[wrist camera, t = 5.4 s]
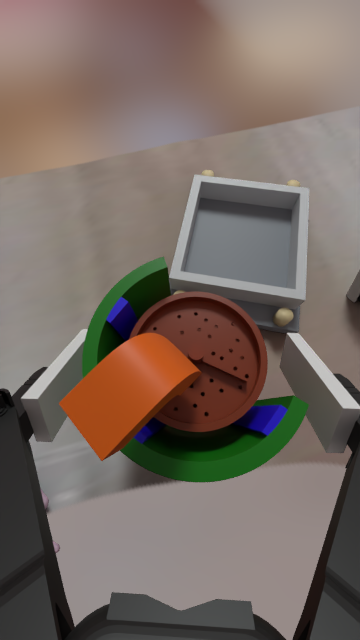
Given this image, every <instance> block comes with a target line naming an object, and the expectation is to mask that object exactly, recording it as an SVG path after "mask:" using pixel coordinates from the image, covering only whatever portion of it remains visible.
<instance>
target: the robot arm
mask: <svg viewBox="0 0 360 640" xmlns="http://www.w3.org/2000/svg"><path fill="white" fill-rule="evenodd" d="M87 331H88V329H82V330H81V331H80V333H79V334H78V335H77V336H76V337H75V338H74V339H73V340H72V341H71V343H70V344H69V345H68V346H67V347H66V348H65V349H64V350H63V352H62V353H61V354H60V355H59V356H58V357H57V358H56V359H55V361H54V362H53V363H52V364H51V365H50V366H49V367H43V368H41V369H39V370H38V371H36V372H35V373H34V374H33V375H32V376H31V377H30V378H29V380H27V381H26V382H25V383H24V385H22V386H21V387H20V388H19V389H18V390H17V392H16V393H15V394H14V395H13V396H12V397H11V394H10V392H9V391H8V390H7V389H0V640H286V639H285V638H284V637H283V636H282V635H281V634H280V633H279V632H278V631H277V630H276V629H275V628H274V627H273V626H271V625H270V624H269V623H268V622H267V621H265V620H263V619H262V618H260V617H259V616H257V615H255V614H253V612H252V605H251V602H250V601H235V600H220V599H216V600H213V601H210V602H207V603H204V604H201V605H198V606H195V607H192V608H189V609H186V610H182V611H179V610H176V609H174V608H172V607H170V606H168V605H166V604H164V603H162V602H160V601H157V600H155V599H153V598H151V597H149V596H147V595H143V594H128V593H113V592H112V594H111V599H110V604H108V605H105V606H103V607H101V608H99V609H97V610H95V611H94V612H92V613H91V614H89V615H88V616H87V617H85V618H84V619H83V620H82V621H81V622H80V623H79V624H78V625H77V626H76V627H74V623H73V619H72V616H71V612H70V609H69V606H68V603H67V599H66V596H65V592H64V588H63V583H62V580H61V575H60V571H59V567H58V562H57V558H56V553H55V549H54V545H53V540H52V536H51V532H50V527H49V523H48V519H47V514H46V510H45V506H44V502H43V497H42V493H41V489H40V484H39V480H38V476H37V471H36V467H35V463H34V458H33V454H32V450H31V446H30V443H29V439H30V437H31V436H32V434H33V433H34V435H35V438H36V441H41V442H52V441H53V439H54V438H55V436H56V434H57V433H58V431H59V429H60V427H61V426H62V424H63V422H64V421H65V419H66V417H67V416H68V415H67V414H66V413H65V411H64V410H63V409H62V407H61V406H60V405H59V402H60V401H61V400H62V399H63V398H64V397H65V396H66V395H67V394H68V393H69V392H70V391H71V390H72V389H73V388H74V387H75V386H76V385H77V384H78V383H79V382H80V381H81V380H82V379H83V374H82V356H83V348H84V342H85V338H86V334H87ZM280 368H281V370H282V372H283V374H284V376H285V378H286V379H287V381H288V383H289V385H290V387H291V389H292V390H293V392H294V394H295V396H296V397H297V398H299V399H300V400H302V401H304V402H305V403H307V404H309V406H308V409H307V412H306V416H307V418H308V420H309V422H310V423H311V425H312V427H313V429H314V431H315V433H316V434H317V436H318V438H319V440H320V442H321V444H322V445H323V447H324V449H325V451H326V452H327V453H343V452H344V450H345V448H346V445H347V444H348V446H349V448H350V449H351V451H352V454H351V456H350V458H349V461H348V463H347V465H346V467H345V468H347V469H346V472H345V476H344V479H343V482H342V486H341V489H340V492H339V496H338V498H337V502H336V505H335V508H334V511H333V515H332V518H331V521H330V525H329V528H328V531H327V534H326V538H325V541H324V544H323V547H322V551H321V554H320V557H319V560H318V564H317V567H316V570H315V574H314V577H313V580H312V583H311V587H310V590H309V593H308V596H307V600H306V603H305V606H304V610H303V612H302V615H301V618H300V621H299V623H298V626H297V628H296V631H295V634H294V637H293V640H360V392H359V391H358V390H357V388H355V386H354V385H353V384H352V383H351V382H350V381H349V380H348V379H347V378H345V377H344V376H342V375H341V374H332V372H331V371H330V370H329V369H328V368H327V366H326V365H325V364H324V363H323V362H322V361H321V359H320V358H319V357H318V356H317V355H316V353H315V352H314V351H313V350H312V349H311V347H310V346H309V345H308V344H307V343H306V341H305V340H304V339H303V338H302V337H301V336H300V334H299V333H287V334H286V339H285V343H284V348H283V353H282V358H281V363H280Z"/></svg>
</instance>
